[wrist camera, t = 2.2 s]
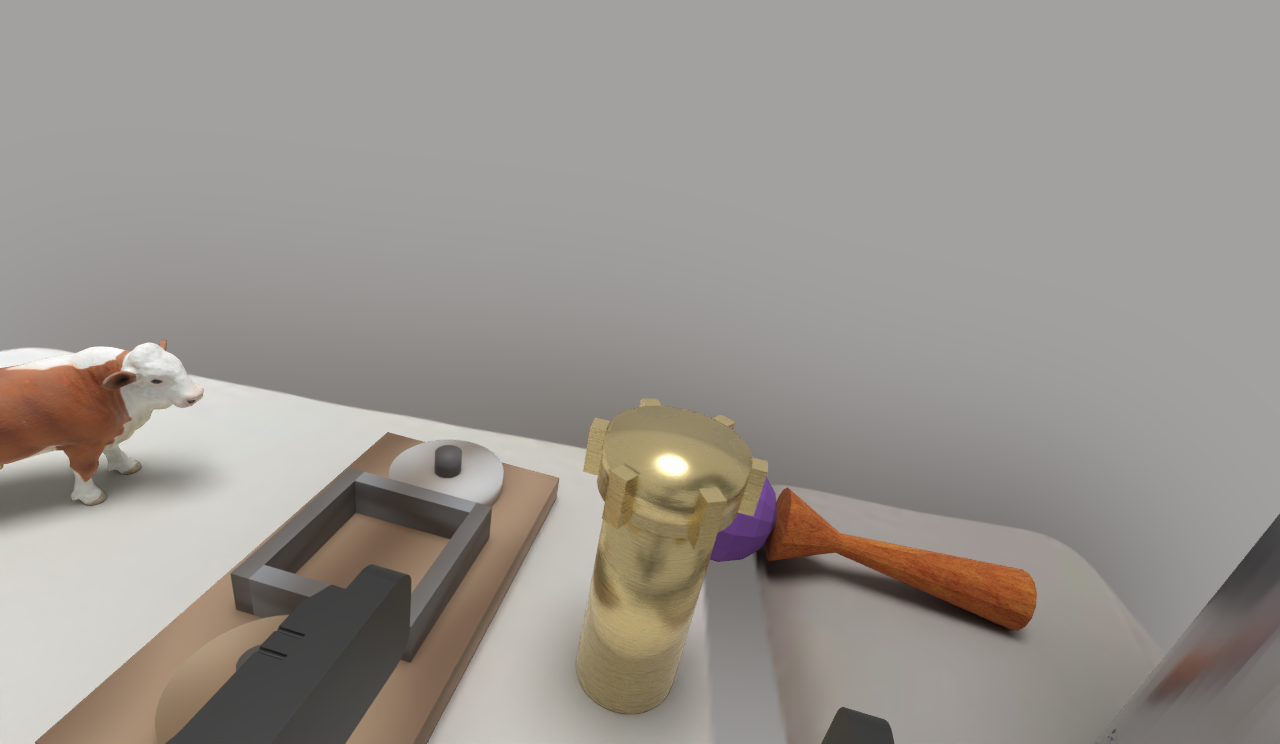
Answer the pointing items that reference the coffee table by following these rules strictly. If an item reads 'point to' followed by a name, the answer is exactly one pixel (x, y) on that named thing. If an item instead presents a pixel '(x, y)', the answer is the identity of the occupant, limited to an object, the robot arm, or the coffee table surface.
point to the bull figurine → (88, 407)
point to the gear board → (334, 555)
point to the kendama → (879, 559)
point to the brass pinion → (656, 542)
